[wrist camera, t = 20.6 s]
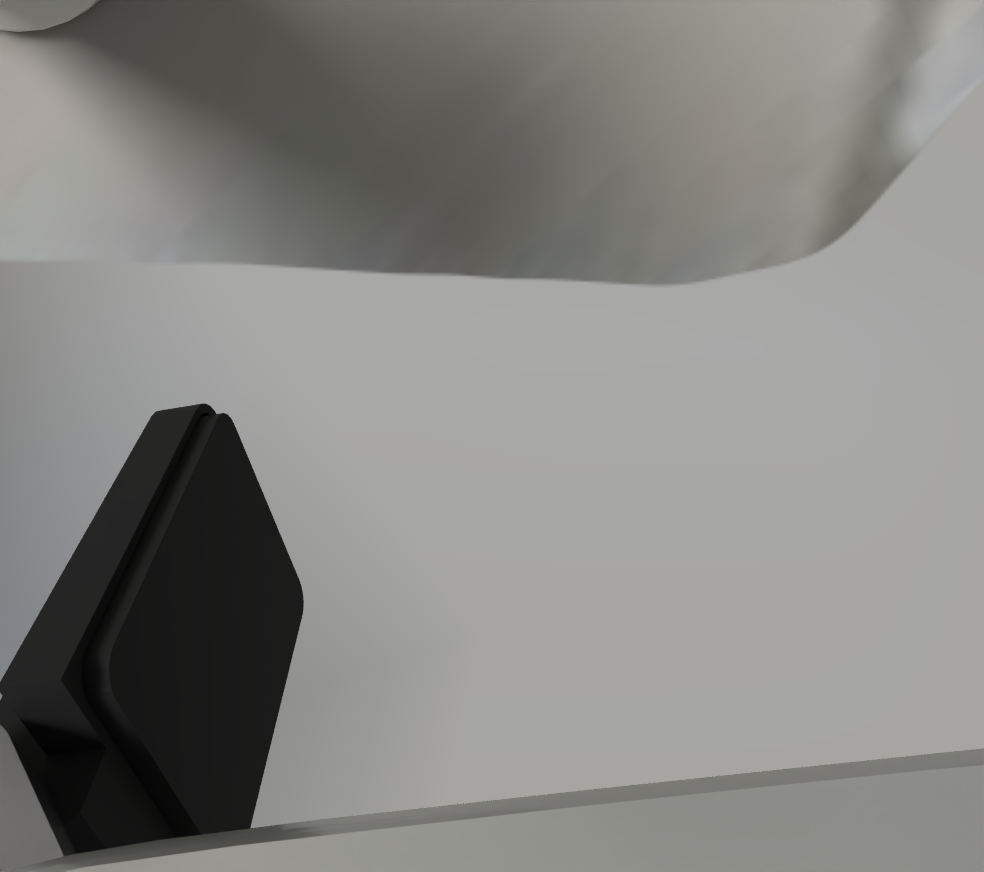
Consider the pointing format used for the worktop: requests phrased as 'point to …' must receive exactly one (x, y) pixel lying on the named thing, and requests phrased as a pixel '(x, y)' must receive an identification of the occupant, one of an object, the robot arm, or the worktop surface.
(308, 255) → the worktop surface
